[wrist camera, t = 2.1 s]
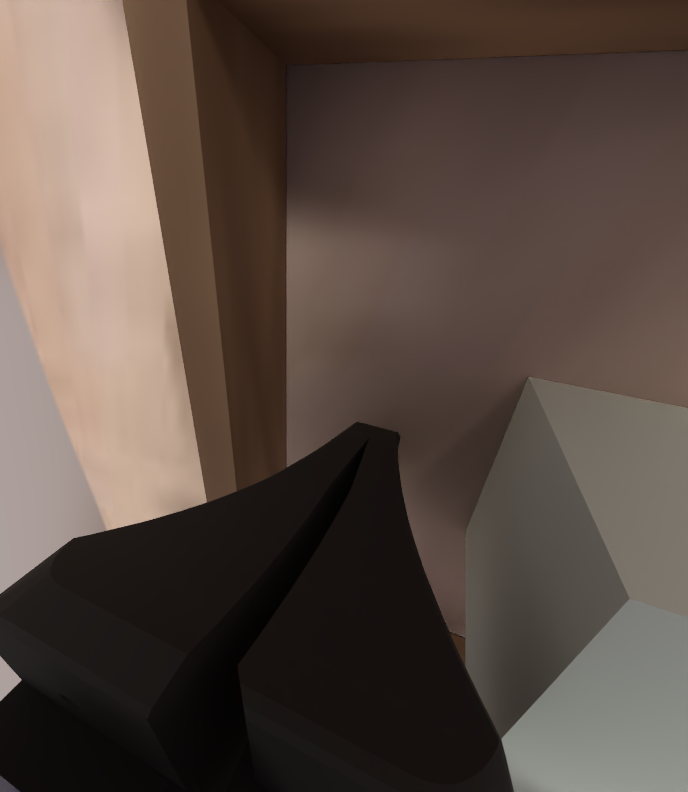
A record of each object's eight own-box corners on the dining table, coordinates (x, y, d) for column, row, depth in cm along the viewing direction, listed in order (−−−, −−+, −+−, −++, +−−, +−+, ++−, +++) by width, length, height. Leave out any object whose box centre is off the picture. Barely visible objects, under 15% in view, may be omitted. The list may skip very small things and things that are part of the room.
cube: (834, 435, 7) (2002, 1059, 2) (670, 596, 10) (904, 1005, 4) (528, 375, 8) (629, 598, 3) (465, 530, 11) (465, 777, 6)
